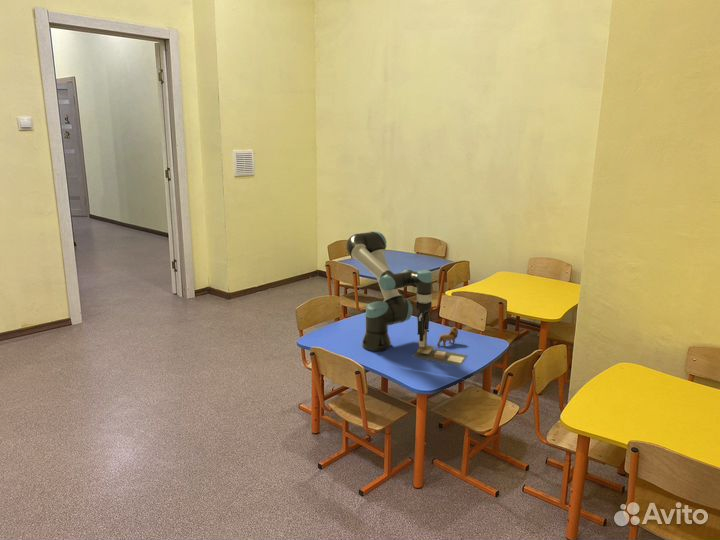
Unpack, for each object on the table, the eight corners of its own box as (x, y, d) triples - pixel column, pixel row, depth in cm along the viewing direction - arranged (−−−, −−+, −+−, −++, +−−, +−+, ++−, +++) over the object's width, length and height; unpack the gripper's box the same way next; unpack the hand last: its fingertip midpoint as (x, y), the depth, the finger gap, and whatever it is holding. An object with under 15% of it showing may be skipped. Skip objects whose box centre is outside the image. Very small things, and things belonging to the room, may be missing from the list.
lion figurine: (452, 340, 293) (452, 325, 291) (459, 343, 289) (460, 327, 287) (434, 347, 284) (435, 331, 281) (442, 350, 280) (443, 334, 277)
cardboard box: (417, 352, 271) (417, 332, 268) (422, 346, 279) (423, 326, 276) (428, 354, 268) (429, 333, 266) (433, 347, 276) (434, 328, 274)
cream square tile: (434, 357, 270) (434, 353, 269) (436, 353, 274) (437, 350, 274) (443, 358, 268) (443, 355, 267) (446, 355, 272) (446, 351, 272)
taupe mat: (412, 358, 270) (412, 357, 270) (421, 348, 282) (421, 347, 282) (461, 367, 260) (461, 365, 260) (467, 356, 272) (467, 355, 272)
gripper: (426, 306, 259) (425, 351, 265) (436, 297, 273) (434, 341, 279) (411, 304, 262) (410, 349, 268) (422, 296, 276) (420, 338, 282)
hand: (422, 345), depth 273 cm, fingers closed on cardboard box, 3 cm apart
